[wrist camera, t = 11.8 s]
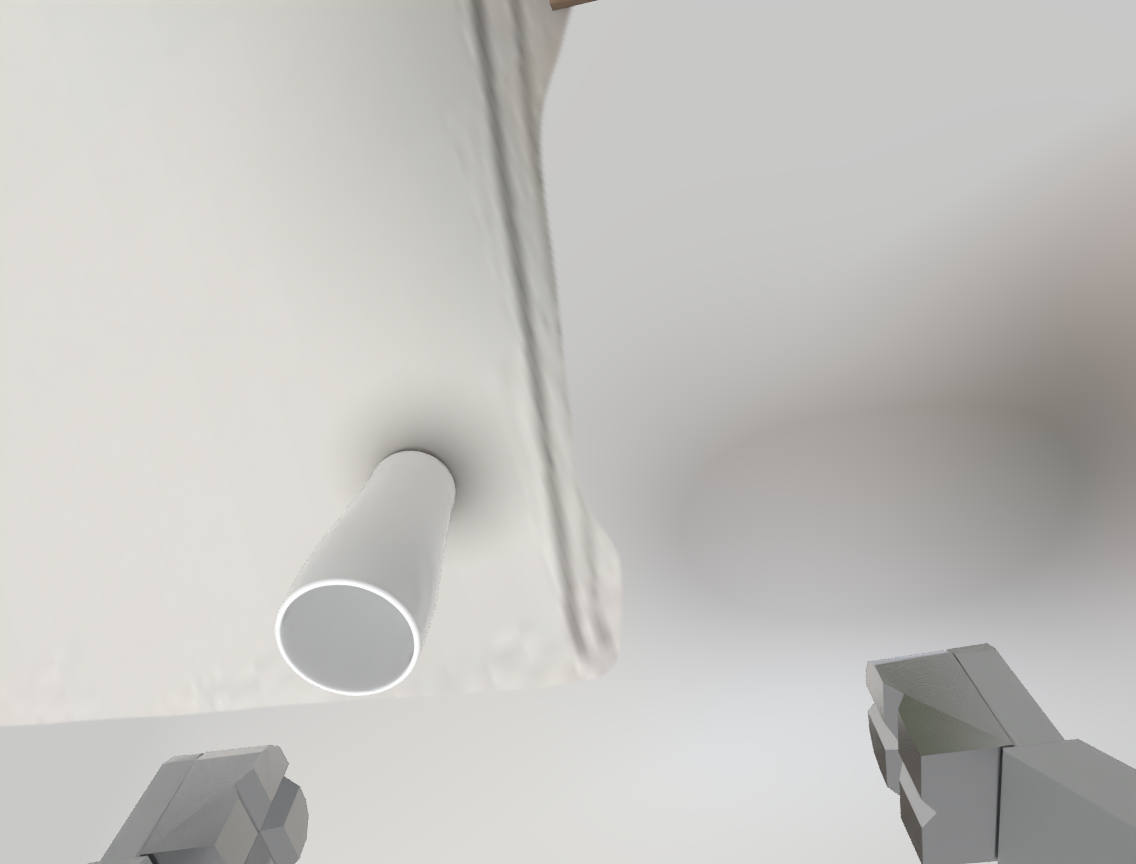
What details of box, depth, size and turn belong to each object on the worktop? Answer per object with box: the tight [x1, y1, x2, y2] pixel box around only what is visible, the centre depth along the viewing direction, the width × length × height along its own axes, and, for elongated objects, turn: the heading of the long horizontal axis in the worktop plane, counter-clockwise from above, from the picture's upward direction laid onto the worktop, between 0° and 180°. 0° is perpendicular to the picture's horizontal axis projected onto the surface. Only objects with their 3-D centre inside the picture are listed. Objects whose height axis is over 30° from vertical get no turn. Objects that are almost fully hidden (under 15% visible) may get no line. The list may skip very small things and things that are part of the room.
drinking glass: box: [275, 451, 456, 696], centre depth 41 cm, size 7×7×15 cm
